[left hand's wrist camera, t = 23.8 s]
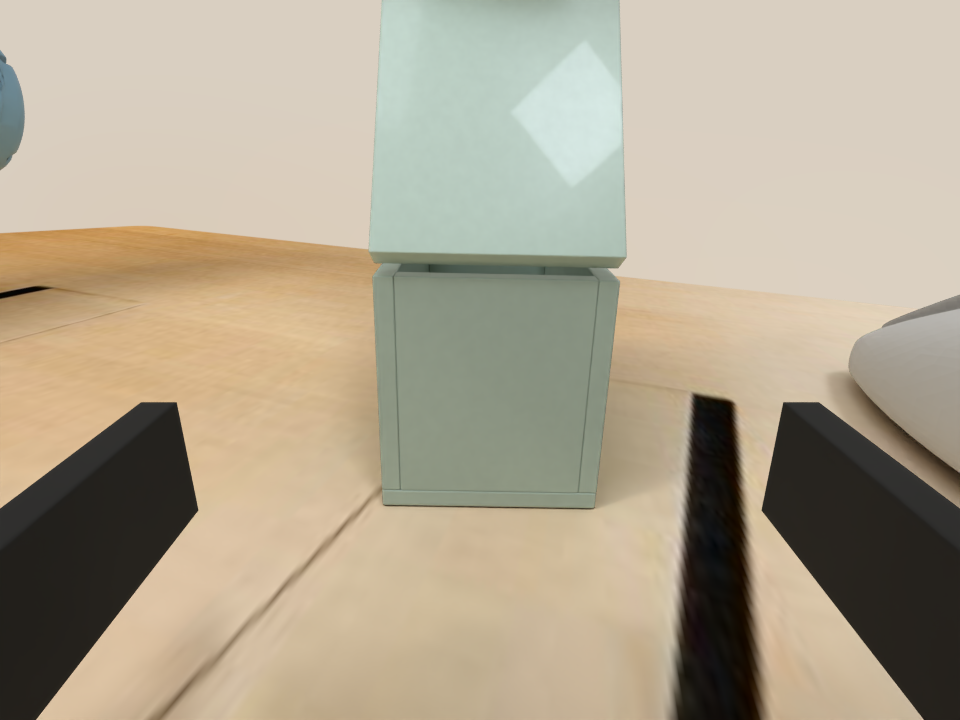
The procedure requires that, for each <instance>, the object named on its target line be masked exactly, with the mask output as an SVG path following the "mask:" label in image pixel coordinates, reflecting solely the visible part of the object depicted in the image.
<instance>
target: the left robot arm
mask: <svg viewBox="0 0 960 720" xmlns="http://www.w3.org/2000/svg"><path fill="white" fill-rule="evenodd" d="M197 511H198V506H197V501H196V496H195V491H194V486H193V481H192V476H191V471H190V466H189V462H188V457H187V452H186V447H185V442H184V437H183V432H182V427H181V422H180V417H179V412H178V407H177V402H141V403H140V404H138V405H137V406H136V407H134V408H133V409H132V410H130V411H129V412H128V413H126V414H125V415H124V416H122V417H121V418H120V419H119V420H117V421H116V422H115V423H113V424H112V425H111V426H109V427H108V428H107V429H105V430H104V431H103V432H101V433H100V434H99V435H97V436H96V437H95V438H93V439H92V440H91V441H89V442H88V443H87V444H85V445H84V446H83V447H81V448H80V449H79V450H77V451H76V452H75V453H73V454H72V455H71V456H69V457H68V458H67V459H65V460H64V461H63V462H61V463H60V464H59V465H57V466H56V467H55V468H53V469H52V470H51V471H49V472H48V473H47V474H46V475H44V476H43V477H42V478H40V479H39V480H38V481H36V482H35V483H34V484H32V485H31V486H30V487H28V488H27V489H26V490H24V491H23V492H22V493H20V494H19V495H18V496H16V497H15V498H14V499H12V500H11V501H10V502H8V503H7V504H6V505H4V506H3V507H2V508H0V720H36V719H37V718H38V716H39V715H40V714H41V713H42V711H43V710H44V709H45V707H46V706H47V705H48V704H49V702H50V701H51V700H52V698H53V697H54V696H55V695H56V693H57V692H58V691H59V689H60V688H61V687H62V685H63V684H64V683H65V682H66V680H67V679H68V678H69V676H70V675H71V674H72V673H73V671H74V670H75V669H76V667H77V666H78V665H79V664H80V662H81V661H82V660H83V658H84V657H85V656H86V655H87V653H88V652H89V651H90V649H91V648H92V647H93V646H94V644H95V643H96V642H97V640H98V639H99V638H100V636H101V635H102V634H103V633H104V631H105V630H106V629H107V627H108V626H109V625H110V624H111V622H112V621H113V620H114V618H115V617H116V616H117V615H118V613H119V612H120V611H121V609H122V608H123V607H124V606H125V604H126V603H127V602H128V600H129V599H130V598H131V597H132V595H133V594H134V593H135V591H136V590H137V589H138V587H139V586H140V585H141V584H142V582H143V581H144V580H145V578H146V577H147V576H148V575H149V573H150V572H151V571H152V569H153V568H154V567H155V566H156V564H157V563H158V562H159V560H160V559H161V558H162V557H163V555H164V554H165V553H166V551H167V550H168V549H169V548H170V546H171V545H172V544H173V542H174V541H175V540H176V538H177V537H178V536H179V535H180V533H181V532H182V531H183V529H184V528H185V527H186V526H187V524H188V523H189V522H190V520H191V519H192V518H193V517H194V515H195V514H196V513H197ZM762 511H763V513H764V514H765V515H766V517H767V518H768V519H769V520H770V522H771V523H772V524H773V526H774V527H775V528H776V529H777V531H778V532H779V533H780V535H781V536H782V537H783V538H784V540H785V541H786V542H787V544H788V545H789V546H790V548H791V549H792V550H793V551H794V553H795V554H796V555H797V557H798V558H799V559H800V560H801V562H802V563H803V564H804V566H805V567H806V568H807V569H808V571H809V572H810V573H811V575H812V576H813V577H814V578H815V580H816V581H817V582H818V584H819V585H820V586H821V587H822V589H823V590H824V591H825V593H826V594H827V595H828V597H829V598H830V599H831V600H832V602H833V603H834V604H835V606H836V607H837V608H838V609H839V611H840V612H841V613H842V615H843V616H844V617H845V618H846V620H847V621H848V622H849V624H850V625H851V626H852V627H853V629H854V630H855V631H856V633H857V634H858V635H859V636H860V638H861V639H862V640H863V642H864V643H865V644H866V646H867V647H868V648H869V649H870V651H871V652H872V653H873V655H874V656H875V657H876V658H877V660H878V661H879V662H880V664H881V665H882V666H883V667H884V669H885V670H886V671H887V673H888V674H889V675H890V676H891V678H892V679H893V680H894V682H895V683H896V684H897V685H898V687H899V688H900V689H901V691H902V692H903V693H904V695H905V696H906V697H907V698H908V700H909V701H910V702H911V704H912V705H913V706H914V707H915V709H916V710H917V711H918V713H919V714H920V715H921V716H922V718H923V719H924V720H960V508H958V507H957V506H956V505H954V504H953V503H952V502H950V501H949V500H948V499H946V498H945V497H944V496H942V495H941V494H940V493H938V492H937V491H936V490H934V489H933V488H932V487H930V486H929V485H928V484H926V483H925V482H924V481H922V480H921V479H920V478H918V477H917V476H916V475H914V474H913V473H912V472H911V471H909V470H908V469H907V468H905V467H904V466H903V465H901V464H900V463H899V462H897V461H896V460H895V459H893V458H892V457H891V456H889V455H888V454H887V453H885V452H884V451H883V450H881V449H880V448H879V447H877V446H876V445H875V444H873V443H872V442H871V441H869V440H868V439H867V438H865V437H864V436H863V435H861V434H860V433H859V432H857V431H856V430H855V429H853V428H852V427H851V426H849V425H848V424H847V423H845V422H844V421H843V420H841V419H840V418H839V417H838V416H836V415H835V414H834V413H832V412H831V411H830V410H828V409H827V408H826V407H824V406H823V405H822V404H820V403H819V402H783V407H782V412H781V417H780V422H779V427H778V432H777V437H776V442H775V447H774V452H773V457H772V462H771V466H770V471H769V476H768V481H767V486H766V491H765V496H764V501H763V506H762Z"/></svg>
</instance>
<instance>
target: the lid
mask: <svg viewBox="0 0 960 720" xmlns="http://www.w3.org/2000/svg"><path fill="white" fill-rule="evenodd" d="M369 253H370V255H371V257H372V259H373V261H374V263H391V264H438V265H484V266H531V267H577V268H619V266H620V265H621V264H622V263H623V261H624V260H625V259H626V256H627V255H626V219H625V184H624V147H623V111H622V76H621V39H620V3H619V0H382V7H381V27H380V45H379V64H378V83H377V102H376V121H375V140H374V159H373V178H372V196H371V215H370V234H369Z"/></svg>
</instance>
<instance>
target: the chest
mask: <svg viewBox="0 0 960 720" xmlns="http://www.w3.org/2000/svg"><path fill="white" fill-rule="evenodd" d="M372 279H373V300H374V322H375V344H376V366H377V387H378V409H379V431H380V453H381V474H382V488H383V490H382V496H383V504H384V505H426V506H487V507H548V508H594V507H595V499H596V490H597V481H598V473H599V464H600V455H601V446H602V437H603V428H604V420H605V411H606V402H607V393H608V384H609V375H610V366H611V358H612V349H613V340H614V331H615V322H616V313H617V304H618V296H619V287H620V281H619V280H618V279H617V278H616V277H615V276H614V275H613V274H612V273H611V272H610V271H609V270H608V269H607V268H577V267H531V266H484V265H438V264H391V263H382V265H381V266H380V267H379V269H378V270H377V271H376V273H375V274H374V275H373V277H372Z"/></svg>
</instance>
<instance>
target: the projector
mask: <svg viewBox="0 0 960 720" xmlns="http://www.w3.org/2000/svg"><path fill="white" fill-rule="evenodd" d="M849 372H850V374H851V375H852V377H853V378H854V380H855V381H856V383H857V384H858V385H859V386H860V388H861V389H862V390H863V391H864V392H865V393H866V395H867V396H868V397H869V398H870V399H871V400H872V401H873V402H874V403H875V404H876V405H877V406H878V407H879V408H880V409H881V410H882V411H883V412H884V413H885V414H886V415H888V416H889V417H890V418H891V419H892V420H893V421H894V422H895V423H897V424H898V425H899V426H900V427H901V428H902V429H904V430H905V431H906V432H907V433H908V434H909V435H910V436H912V437H913V438H914V439H915V440H917V441H918V442H919V443H921V444H922V445H923V446H924V447H926V448H927V449H928V450H929V451H931V452H932V453H933V454H935V455H936V456H937V457H939V458H940V459H941V460H943V461H944V462H945V463H947V464H948V465H950V466H951V467H952V468H954V469H955V470H956V471H958V472H959V473H960V295H958V296H955V297H952V298H949V299H946V300H943V301H940V302H938V303H935V304H932V305H930V306H927V307H924V308H921V309H918V310H916V311H913V312H911V313H908V314H906V315H903V316H900V317H898V318H896V319H893V320H891V321H889V322H887V323H885V324H884V325H883V326H882V328H880V329H878V330H875V331H872V332H870V333H868V334H866V335H864V336H862V337H861V338H859V339H858V340H857V341H856V342H855V344H854V346H853V349H852V351H851V354H850V358H849Z"/></svg>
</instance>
